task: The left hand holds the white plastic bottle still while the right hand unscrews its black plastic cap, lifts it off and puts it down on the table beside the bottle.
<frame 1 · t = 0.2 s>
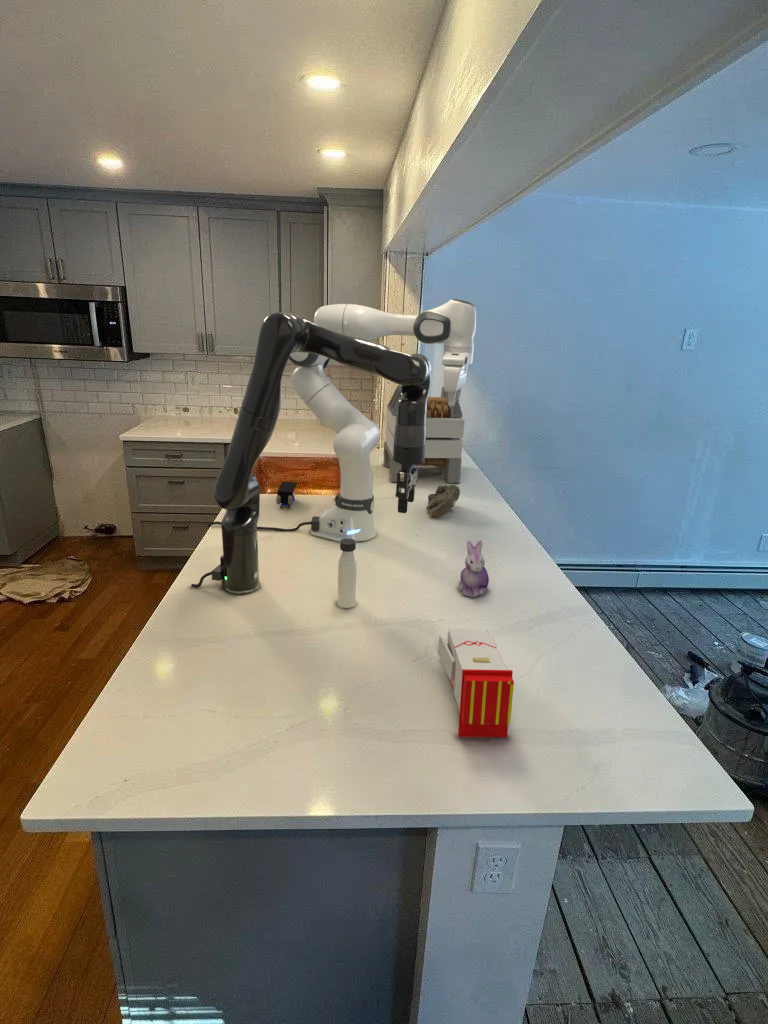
left hand: (405, 506, 139), 29 cm above the counter, tool pointing down, fingers open, 8 cm apart
right hand: (454, 403, 174), 48 cm above the counter, tool pointing down, fingers open, 8 cm apart
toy: (469, 691, 119), on the counter
fossil: (441, 510, 225), on the counter
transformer: (419, 473, 275), on the counter
figurine: (473, 590, 162), on the counter
figurine character: (286, 504, 224), on the counter
cap: (347, 542, 145), point 18 cm above the counter, screwed on, not yet turned
bottle: (346, 603, 152), on the counter
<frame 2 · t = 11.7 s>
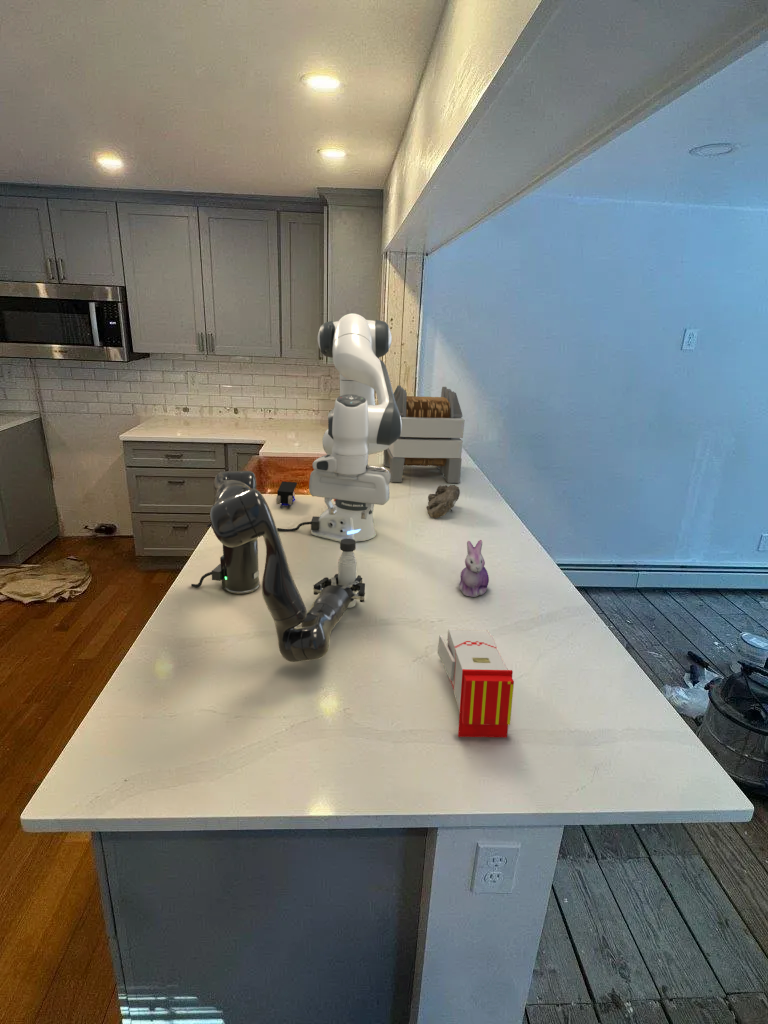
left hand: (349, 577, 152), 7 cm above the counter, tool horizontal, fingers closed on bottle, 4 cm apart
right hand: (348, 516, 143), 25 cm above the counter, tool pointing down, fingers open, 7 cm apart
bottle: (346, 603, 152), on the counter, touching left hand
everything else where it was.
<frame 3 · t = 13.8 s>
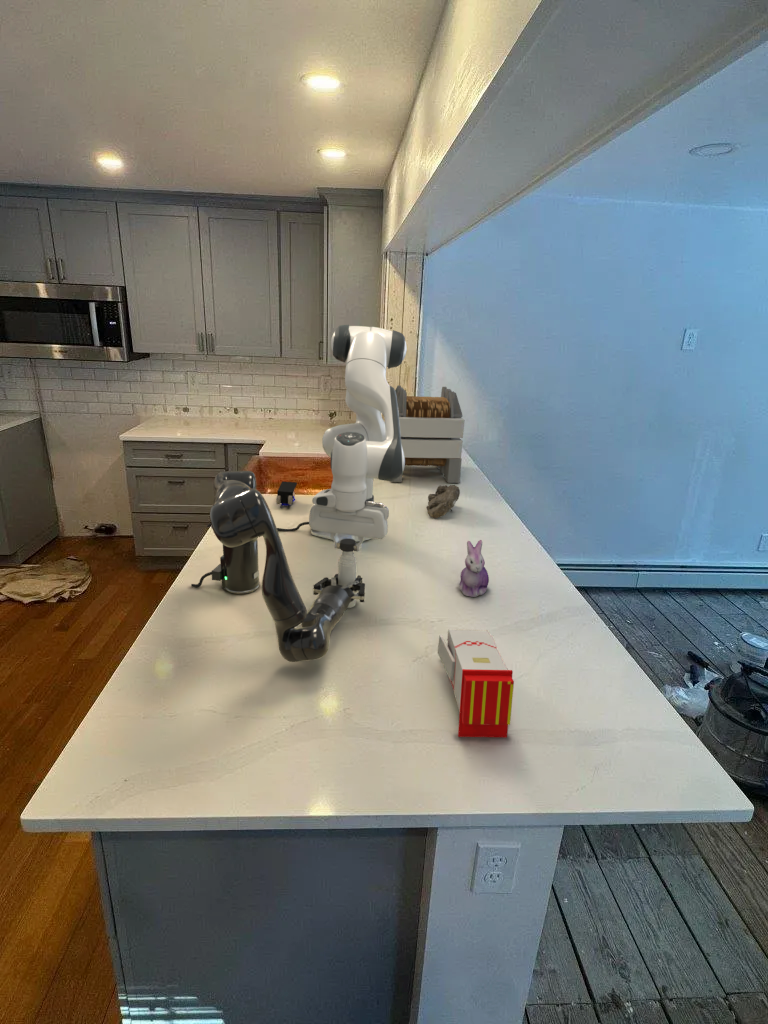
left hand: (349, 577, 152), 7 cm above the counter, tool horizontal, fingers closed on bottle, 4 cm apart
right hand: (347, 549, 146), 16 cm above the counter, tool pointing down, fingers closed on cap, 4 cm apart
cap: (347, 542, 145), point 18 cm above the counter, screwed on, not yet turned, touching right hand
bottle: (346, 603, 151), on the counter, touching left hand
everything else where it was.
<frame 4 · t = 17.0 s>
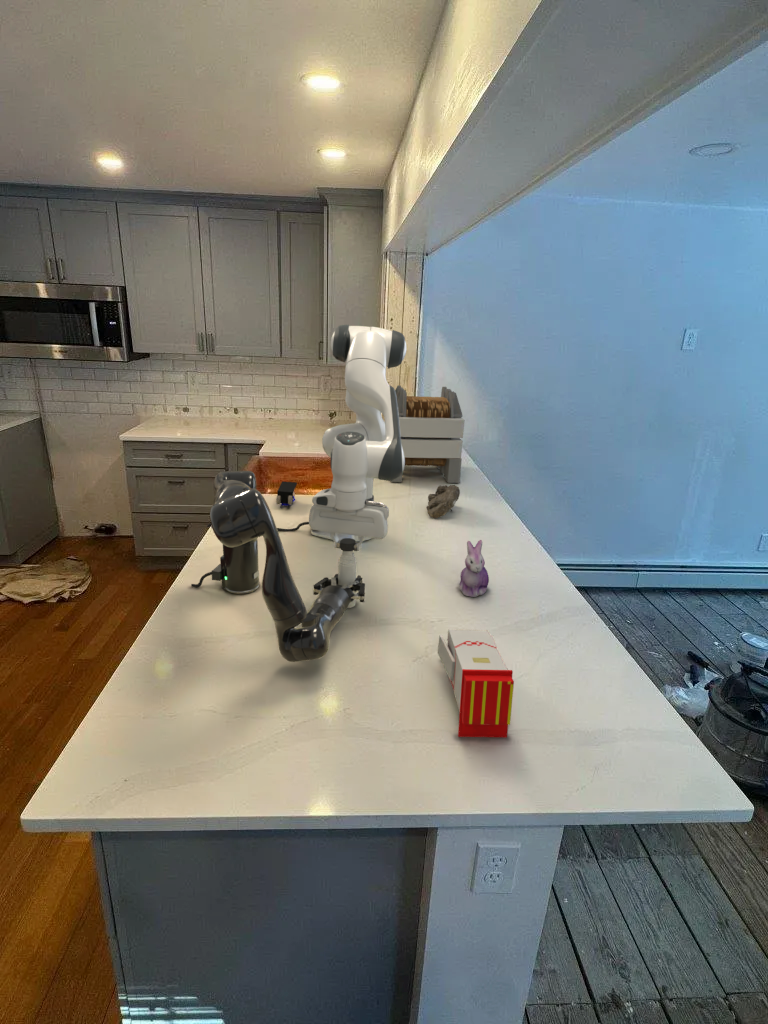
left hand: (349, 577, 152), 7 cm above the counter, tool horizontal, fingers closed on bottle, 4 cm apart
right hand: (347, 549, 146), 16 cm above the counter, tool pointing down, fingers closed on cap, 4 cm apart
cap: (347, 542, 145), point 18 cm above the counter, turned 85° so far, risen 0.1 cm, still on its thread, touching right hand
bottle: (346, 603, 151), on the counter, touching left hand
everything else where it was.
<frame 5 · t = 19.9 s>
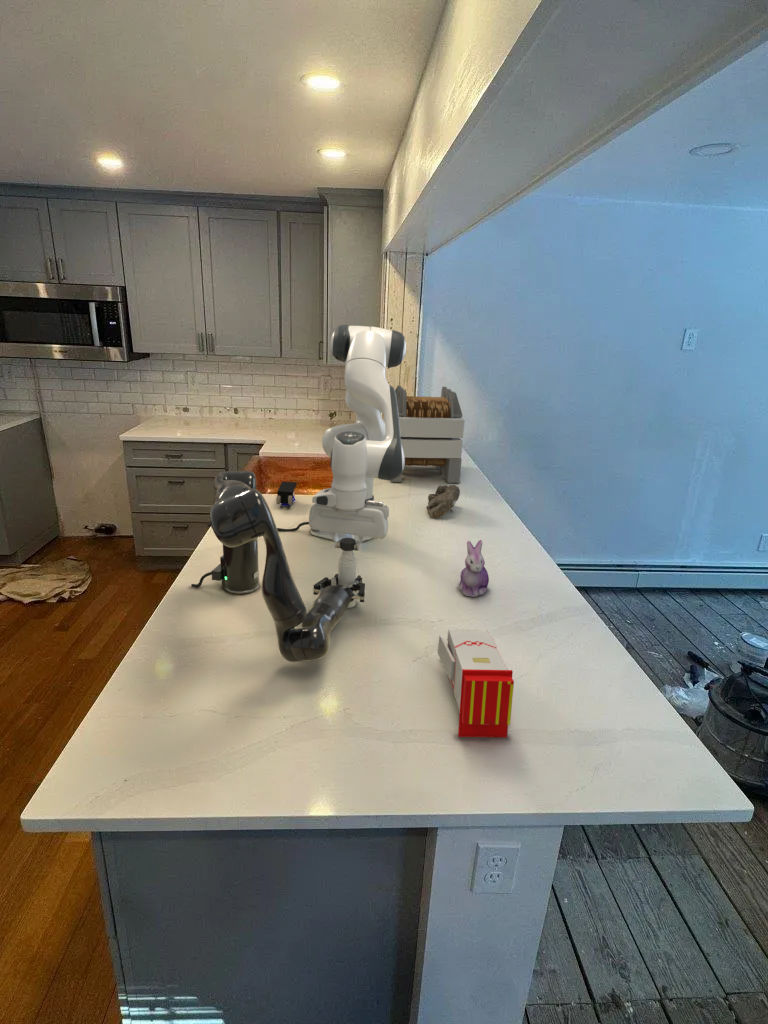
left hand: (349, 577, 152), 7 cm above the counter, tool horizontal, fingers closed on bottle, 4 cm apart
right hand: (347, 548, 146), 16 cm above the counter, tool pointing down, fingers closed on cap, 4 cm apart
cap: (347, 541, 145), point 18 cm above the counter, turned 169° so far, risen 0.2 cm, still on its thread, touching right hand
bottle: (346, 603, 152), on the counter, touching left hand
everything else where it was.
when the right hand's fingers open (2 cm above the counter, at t = 36.8 s): cap drops 2 cm, point 2 cm above the counter.
when the left hand's fingers open (7 cm above the counter, at t = 38.0 s): bottle stays where it is, on the counter.
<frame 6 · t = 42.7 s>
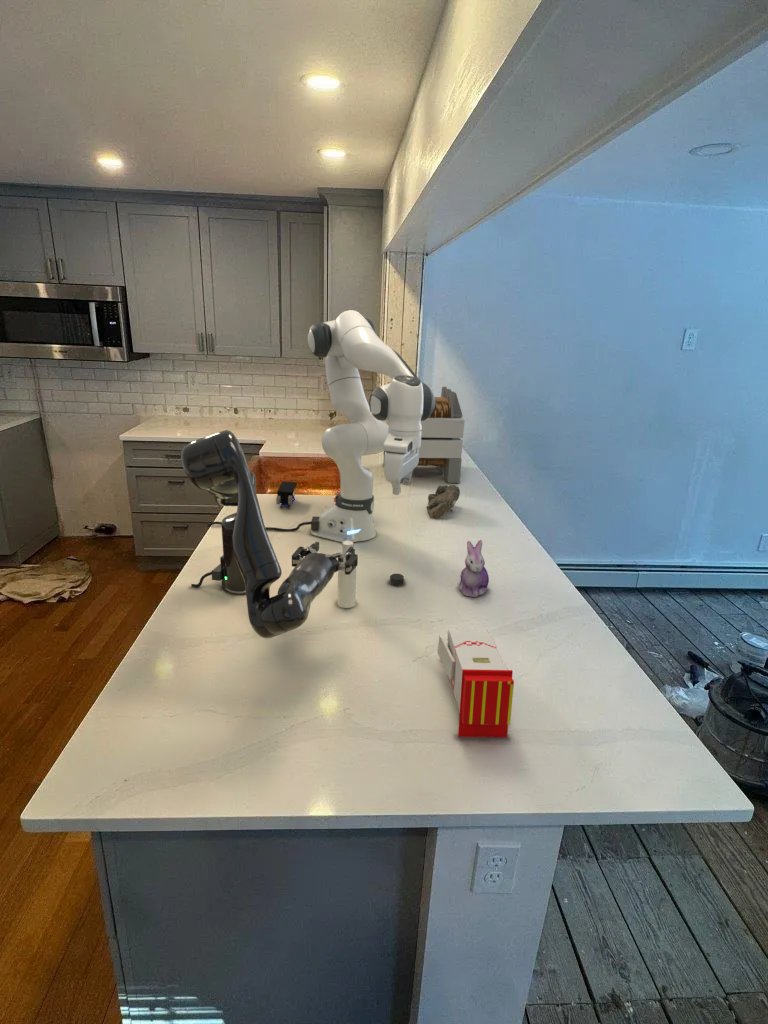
left hand: (334, 547, 135), 21 cm above the counter, tool horizontal, fingers open, 8 cm apart
right hand: (401, 489, 154), 28 cm above the counter, tool pointing down, fingers open, 8 cm apart
cap: (397, 577, 164), point 2 cm above the counter, off its thread
bottle: (346, 603, 151), on the counter
everything else where it was.
at the end: cap came off its thread; cap point 1.8 cm above the counter; the left hand is holding nothing; the right hand is holding nothing; bottle tilted 0°; bottle moved 0.0 cm from its start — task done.
